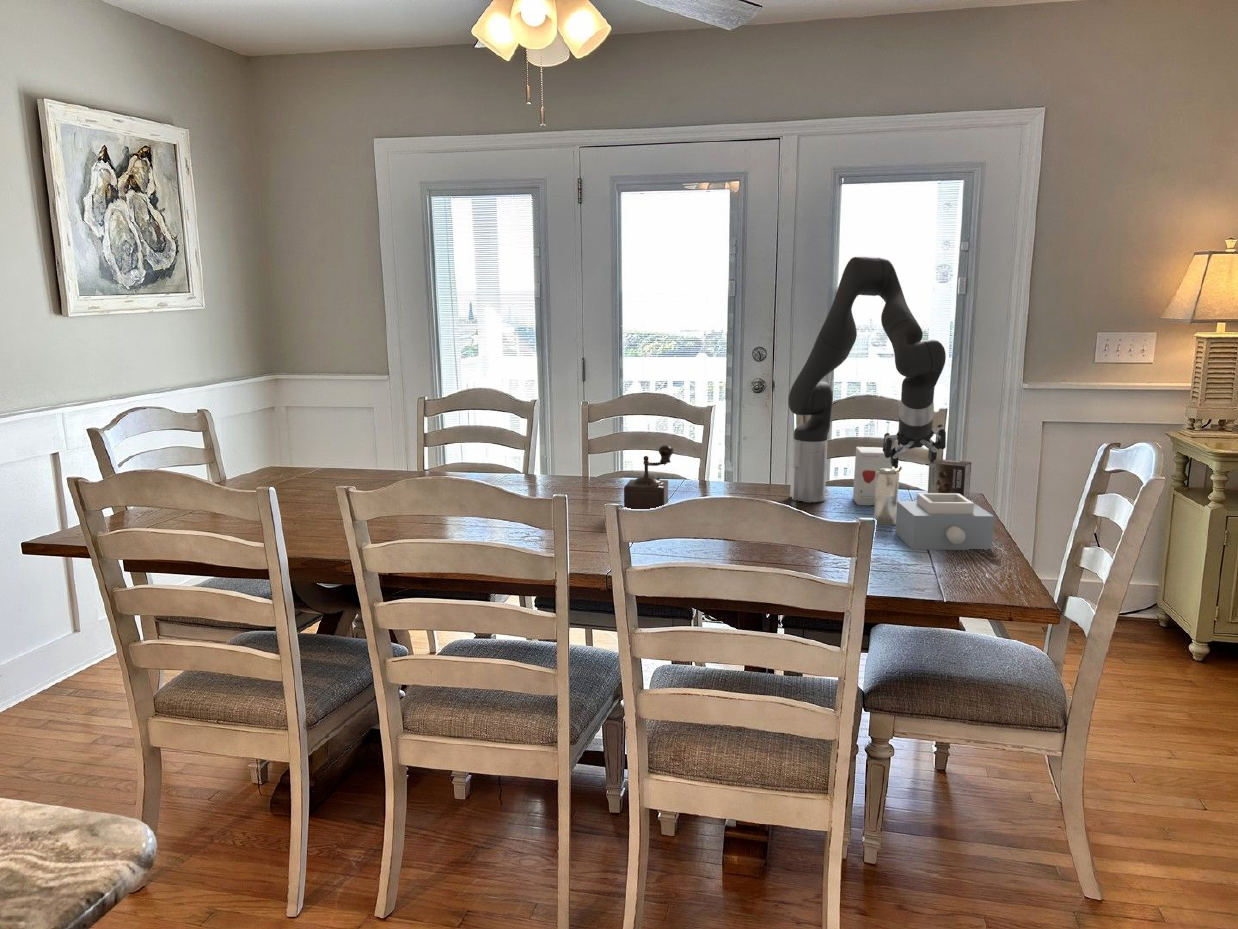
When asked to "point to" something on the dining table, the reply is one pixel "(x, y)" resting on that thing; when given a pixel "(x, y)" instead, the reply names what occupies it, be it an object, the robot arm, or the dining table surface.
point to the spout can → (886, 496)
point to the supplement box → (868, 473)
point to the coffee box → (949, 477)
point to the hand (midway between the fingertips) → (912, 463)
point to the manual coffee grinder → (648, 486)
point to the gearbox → (943, 523)
